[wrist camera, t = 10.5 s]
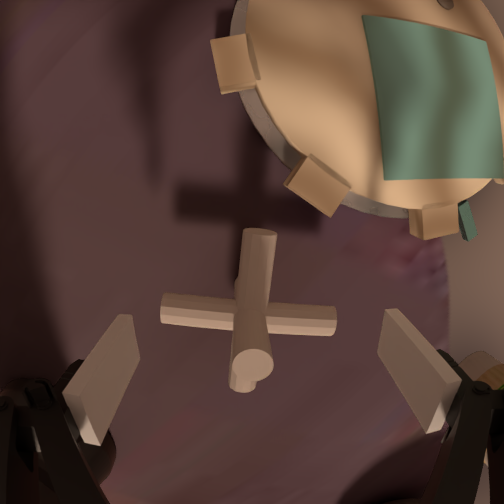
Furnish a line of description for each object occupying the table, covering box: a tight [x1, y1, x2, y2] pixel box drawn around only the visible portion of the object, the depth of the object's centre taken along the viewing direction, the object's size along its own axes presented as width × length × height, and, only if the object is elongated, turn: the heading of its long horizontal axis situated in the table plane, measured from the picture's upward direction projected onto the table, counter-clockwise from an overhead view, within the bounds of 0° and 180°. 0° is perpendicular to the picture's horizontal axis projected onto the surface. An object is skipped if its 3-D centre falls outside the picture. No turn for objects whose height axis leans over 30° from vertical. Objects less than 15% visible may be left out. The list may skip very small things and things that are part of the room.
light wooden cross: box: [160, 228, 337, 393], centre depth 19 cm, size 10×10×10 cm
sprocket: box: [210, 0, 504, 240], centre depth 14 cm, size 26×26×9 cm
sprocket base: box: [230, 0, 477, 241], centre depth 19 cm, size 24×26×1 cm
